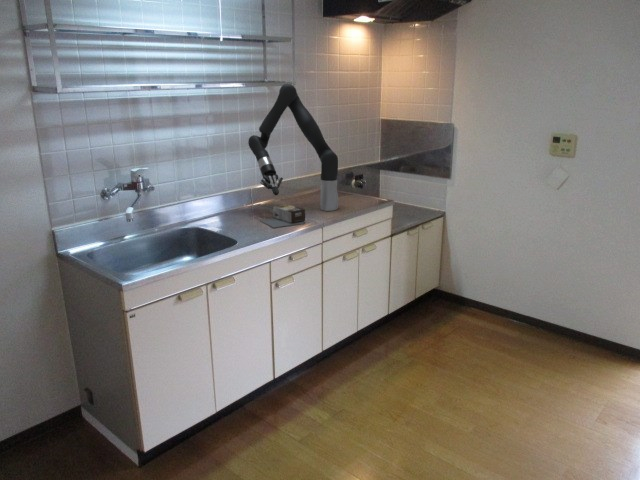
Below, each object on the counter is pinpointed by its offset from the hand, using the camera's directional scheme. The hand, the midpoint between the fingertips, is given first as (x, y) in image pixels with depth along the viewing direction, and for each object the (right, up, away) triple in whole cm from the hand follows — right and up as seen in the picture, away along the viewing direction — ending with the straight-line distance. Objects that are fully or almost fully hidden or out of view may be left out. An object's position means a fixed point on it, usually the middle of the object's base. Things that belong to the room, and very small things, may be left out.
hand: (276, 194), depth 273 cm
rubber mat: (+3, -15, -1) cm, 15 cm away
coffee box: (+1, -8, +8) cm, 11 cm away
